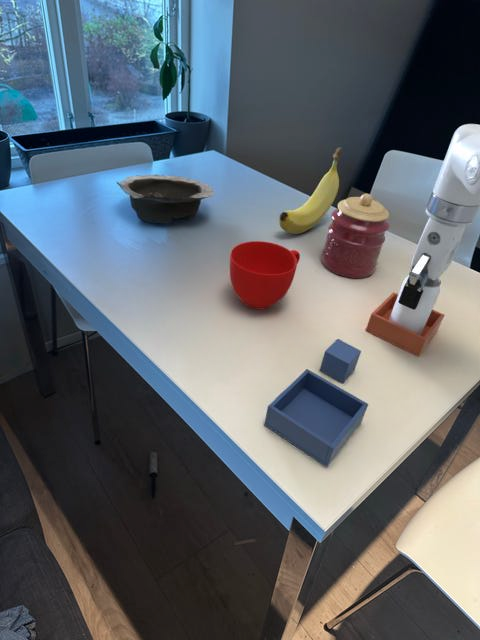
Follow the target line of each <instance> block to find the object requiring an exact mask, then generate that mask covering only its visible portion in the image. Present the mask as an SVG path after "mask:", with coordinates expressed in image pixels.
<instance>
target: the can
mask: <svg viewBox="0 0 480 640" xmlns="http://www.w3.org/2000/svg"><path fill="white" fill-rule="evenodd" d="M423 272H424V273H428V272H427V271H423ZM410 274H411V271H410V272H409V273H408V275H407V276H406V277H405V278H404V280H403V282H402V284H401V287H400V289H399V292H398V293H397V294H398V297H397V300H396V302H395V305H394V307H393V310H392V313H391V315H390V318H389V321H391V322H394V323H396V324H398V325H400V326H402V327H404V328H406V329H408V330H411V331H413V332H415V333H417V334H419V335H421V333H422V331H423V329H424V327H425V324H426V322H427V320H428V318H429V316H430V313H431V311H432V309H433V308H434V307H435V304H436V302H437V299H438V297H439V295H440V292H441V284H442V280H441V279H440V277H439V278H438V279H437V280H434V281H433V280H432V279H431V278H428V280H427V281H426V283H425V285H424V287H423V289H422V290H424V291H423V293H422V296H421V298H420V301H419V303H418V305H417V308H416V309H415V310H413V309H411V308H408V307H406V306H404V305H402V304H399V302H398V301H399V298H400V296H401V293H402V291H403V288H404V285H405V283H406V281H407V280H408V278H409V276H410ZM419 280H420V282H422V280H423V277H421V276H420V278H419ZM420 284H421V283H420ZM433 310H434V309H433Z"/></svg>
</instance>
